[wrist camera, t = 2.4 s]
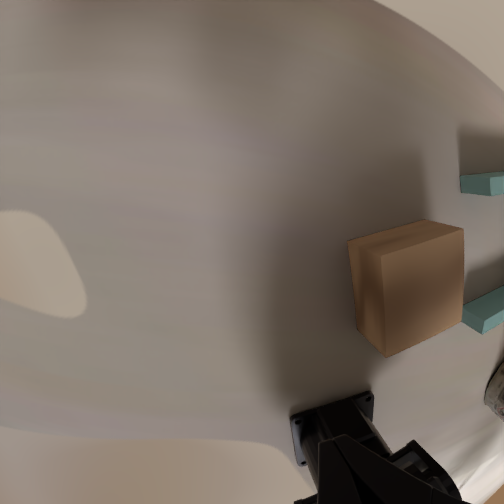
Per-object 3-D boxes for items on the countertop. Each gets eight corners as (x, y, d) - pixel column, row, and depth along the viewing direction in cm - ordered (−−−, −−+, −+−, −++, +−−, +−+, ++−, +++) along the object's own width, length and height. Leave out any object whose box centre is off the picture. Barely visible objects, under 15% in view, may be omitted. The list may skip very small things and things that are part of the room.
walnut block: (426, 300, 20) (461, 321, 16) (356, 328, 19) (385, 358, 15) (422, 218, 18) (463, 228, 14) (345, 240, 18) (380, 256, 14)
